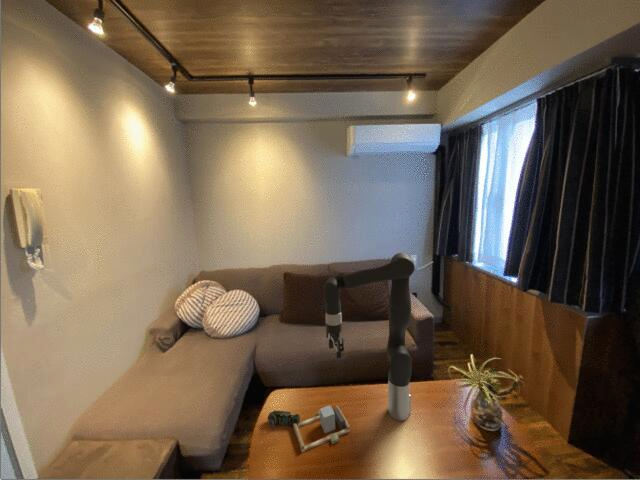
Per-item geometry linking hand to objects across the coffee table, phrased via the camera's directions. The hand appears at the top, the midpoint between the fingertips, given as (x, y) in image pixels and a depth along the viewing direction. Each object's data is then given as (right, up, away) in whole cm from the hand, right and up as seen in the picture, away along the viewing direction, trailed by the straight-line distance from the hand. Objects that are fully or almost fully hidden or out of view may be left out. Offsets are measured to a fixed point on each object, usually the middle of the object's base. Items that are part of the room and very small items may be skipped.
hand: (335, 352), depth 119 cm
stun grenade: (-24, -31, -5) cm, 39 cm away
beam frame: (-6, -30, -8) cm, 32 cm away
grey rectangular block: (-4, -30, -7) cm, 31 cm away
